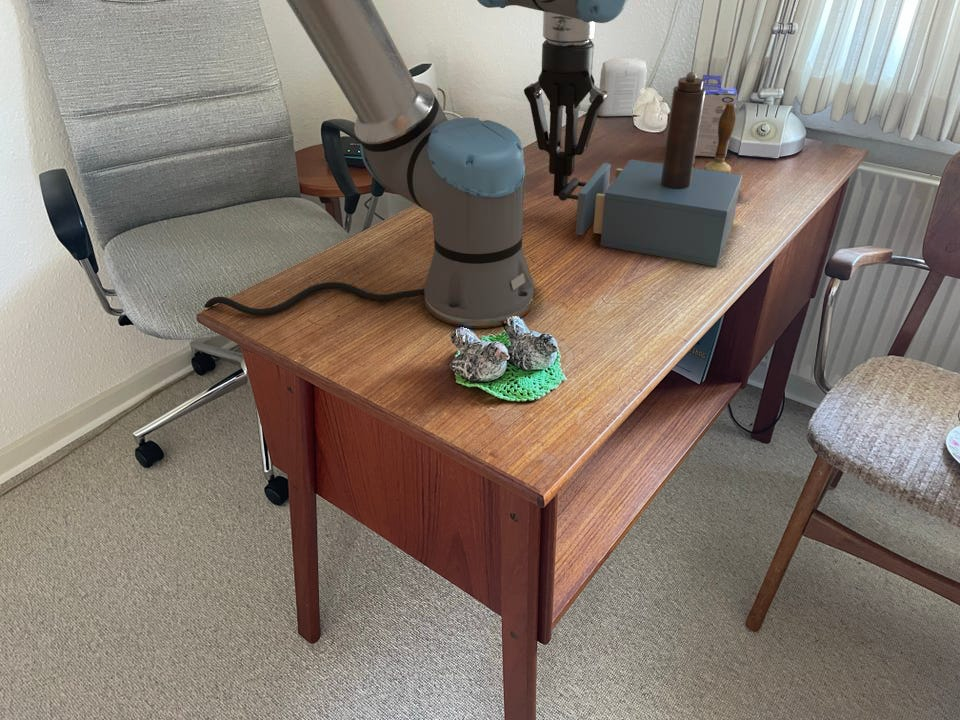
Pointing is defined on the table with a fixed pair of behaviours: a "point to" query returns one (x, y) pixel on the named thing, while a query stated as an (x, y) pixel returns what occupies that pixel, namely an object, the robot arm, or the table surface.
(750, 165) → the table surface
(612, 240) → the cabinet
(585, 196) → the drawer
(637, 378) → the table surface
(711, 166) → the hand bell
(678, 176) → the pepper mill
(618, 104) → the white tall block
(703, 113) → the ink cartridge box
